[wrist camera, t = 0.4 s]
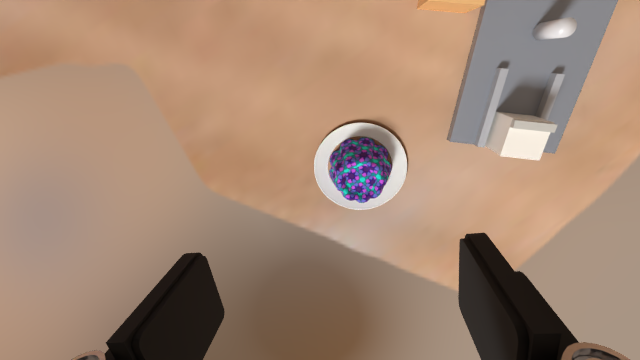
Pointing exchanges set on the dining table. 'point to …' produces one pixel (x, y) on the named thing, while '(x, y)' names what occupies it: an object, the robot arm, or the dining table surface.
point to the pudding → (360, 166)
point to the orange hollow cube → (450, 5)
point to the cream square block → (519, 135)
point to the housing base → (528, 63)
